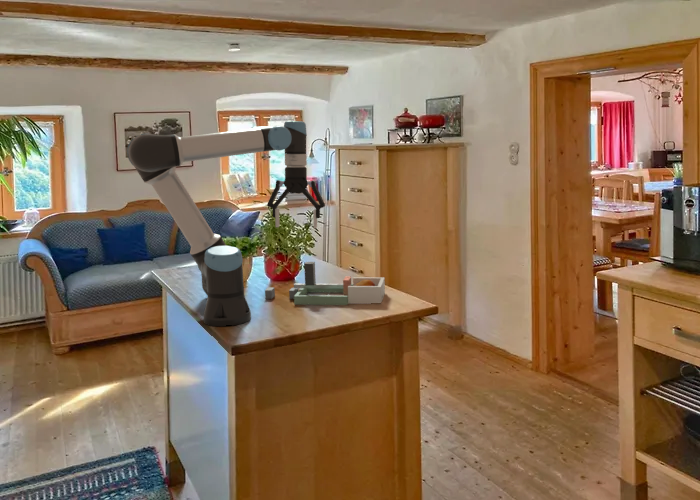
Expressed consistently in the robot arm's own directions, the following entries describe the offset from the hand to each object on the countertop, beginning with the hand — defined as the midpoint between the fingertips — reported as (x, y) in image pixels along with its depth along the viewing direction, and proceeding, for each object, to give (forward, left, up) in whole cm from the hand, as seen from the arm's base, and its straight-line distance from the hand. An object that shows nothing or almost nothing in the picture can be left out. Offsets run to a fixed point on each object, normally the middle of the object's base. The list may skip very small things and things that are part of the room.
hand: (296, 227), depth 225 cm
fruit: (+18, -15, -27) cm, 35 cm away
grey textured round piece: (-18, +24, -27) cm, 40 cm away
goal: (+18, -15, -26) cm, 35 cm away
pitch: (+4, 0, -26) cm, 27 cm away
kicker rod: (+7, -4, -26) cm, 27 cm away
